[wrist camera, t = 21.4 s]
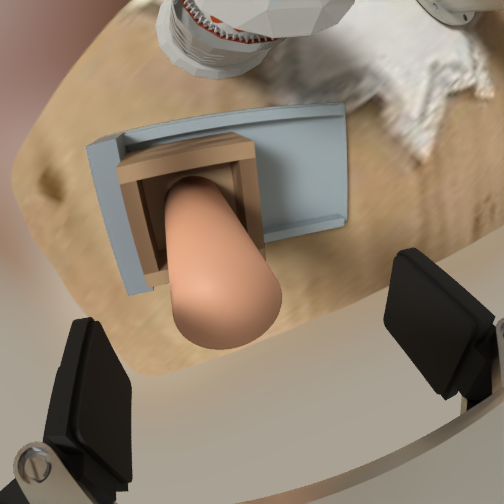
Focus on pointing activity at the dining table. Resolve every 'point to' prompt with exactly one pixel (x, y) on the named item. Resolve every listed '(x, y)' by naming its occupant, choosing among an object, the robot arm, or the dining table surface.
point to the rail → (268, 170)
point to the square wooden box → (179, 166)
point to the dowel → (215, 269)
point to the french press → (237, 31)
